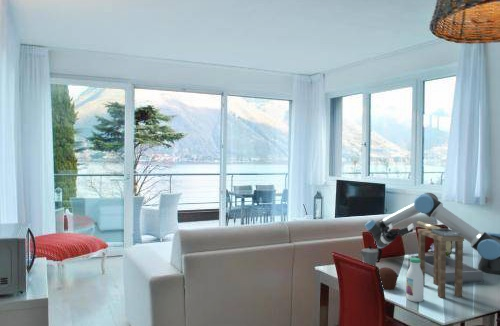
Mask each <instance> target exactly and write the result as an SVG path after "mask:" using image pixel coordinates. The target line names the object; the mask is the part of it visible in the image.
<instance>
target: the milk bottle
mask: <svg viewBox="0 0 500 326" xmlns="http://www.w3.org/2000/svg"><path fill="white" fill-rule="evenodd" d="M409 261H410V262H409V263H410V266H409V268H408V270H407V272H406V283H405V285H406V287H405V288H406V289H405V291H406V292H405V293H406V294H405V295H406V300H408V301H411V302H416V303H420V302H421V303H422V302H423V300H424V293H425V292H424V286H425V285H424V278H423V273H422V270H421V268H420V259H419V258H411V257H410V258H409Z"/></svg>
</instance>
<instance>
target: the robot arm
mask: <svg viewBox="0 0 500 326" xmlns="http://www.w3.org/2000/svg"><path fill="white" fill-rule="evenodd" d="M420 213H421V214H424V215H426V216H427V217H429V218H430V219H431V218H433V219H436V220H437V221H439V222H440V223H441V224H443V225H444V226H446V227H447V229H450V230H453V231H457V232H460V236H463V237H464V241H465V240H466V241H467V242H468V243H470V247H471V248H472V249H474V250H475V251H476V252H477V253H478V254H479V256H481V257H480V259H479V262H478V264H477V269H478V270H480V271H483V272H484V273H488V274H492V275H493V274H495V275H500V232H499V233H498V232H491V231H489V232H487V231H479V230H478V229H476V228H475V227H474V226H472V225H471V224H469V223H467V222H466V221H464V220H463V219H462V218H460V217H459V216H457V215H456V214H454V213H453V212H451V211H450V210H449V209H448V208H446V207H444V205H443V203H442V202H441V201H439V199H438V196H436V194H434V193H432V192H424V193H421V194H419V195H417V197H415V199H414V201H413V202H412V203H411V204H408V205H407V206H405V207H403V208H401V209H399V210H397V211H395V212H393V213H390V214H389V215H387V216H385V217H383V218H381V219H379V220H377V221H375V220H374V219H371V220H369V221H367V222H366V223H365V224H364V227H365V229H366V230H367V232H368V233H369V232H371V233H372V235H373V237H372V238H373V240H374V242H375V241H376V245H377V249H378V248H380V249H384V248H386V247H387V246H388V245H390V244H391V243H392V242H393V241H395V240H396V239H397V237H398V236H400V237H402V236H405V235H407V234H410V233H412V232H414V228H415V226H414V225H415V224H414V223H413V222H412V223H410V224H409V225H408V226H407V227H404V228H401V229H393V228H394V226H395V225H398V224H399V223H402V222H404V221H406V220H409V219H410V218H412V217H414V216H417V215H418V214H420ZM372 235H371V236H372ZM376 245H375V246H376Z"/></svg>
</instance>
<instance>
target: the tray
mask: <svg viewBox="0 0 500 326" xmlns="http://www.w3.org/2000/svg"><path fill="white" fill-rule="evenodd" d="M410 258H418V255H411V256H410ZM433 272H434V255H432V254H431V255H430V254H429V255H425V274H427V275H428V276H430V277H432V278H433ZM483 272H484V271H481V270H479V269H478V268H475V267H473V266H471V265H468V264H466V263H464V262H463V276H462V284H470V283H471V284H473V283H474V284H475V283H483ZM447 284H455V258H451V257H450V256H448V257H447V256H446V279H445V285H447Z"/></svg>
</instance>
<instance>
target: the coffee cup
mask: <svg viewBox="0 0 500 326" xmlns="http://www.w3.org/2000/svg"><path fill="white" fill-rule="evenodd" d="M452 244H453V241H446V248H447V251H448V253H449V254H450V253H451V252H452Z"/></svg>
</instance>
